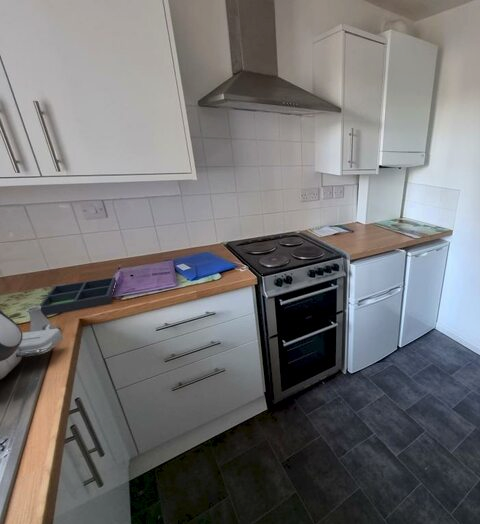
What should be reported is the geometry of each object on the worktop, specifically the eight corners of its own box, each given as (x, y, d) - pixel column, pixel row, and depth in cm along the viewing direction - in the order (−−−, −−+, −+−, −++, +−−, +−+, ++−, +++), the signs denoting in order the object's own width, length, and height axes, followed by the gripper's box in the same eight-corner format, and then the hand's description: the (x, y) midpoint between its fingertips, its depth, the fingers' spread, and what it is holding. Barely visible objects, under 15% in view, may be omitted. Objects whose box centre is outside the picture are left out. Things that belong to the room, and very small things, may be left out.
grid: (40, 317, 103) (37, 308, 102) (57, 294, 119) (54, 286, 118) (110, 304, 113) (108, 295, 111) (117, 284, 128) (115, 277, 127)
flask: (54, 327, 98) (43, 300, 94) (65, 333, 95) (54, 305, 91) (24, 339, 92) (11, 310, 88) (35, 346, 89) (22, 317, 85)
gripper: (41, 341, 77) (69, 314, 89) (-66, 356, 71) (-21, 325, 83) (49, 361, 79) (76, 332, 92) (-54, 377, 73) (-11, 343, 86)
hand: (29, 329), depth 87 cm, fingers open, 8 cm apart
